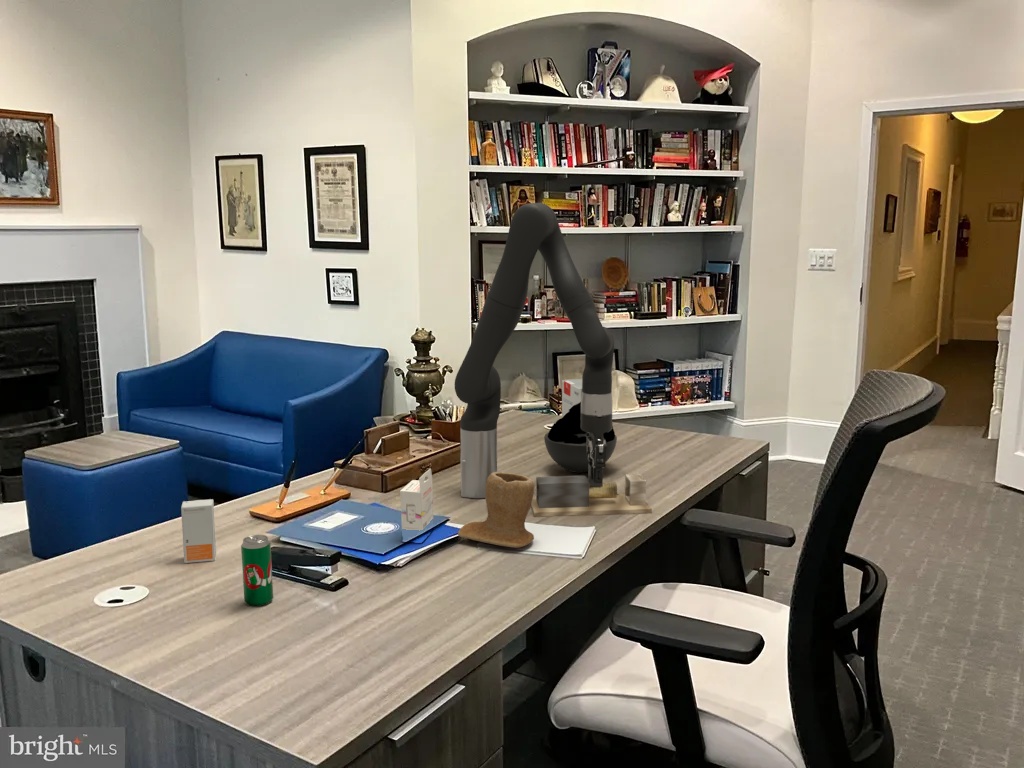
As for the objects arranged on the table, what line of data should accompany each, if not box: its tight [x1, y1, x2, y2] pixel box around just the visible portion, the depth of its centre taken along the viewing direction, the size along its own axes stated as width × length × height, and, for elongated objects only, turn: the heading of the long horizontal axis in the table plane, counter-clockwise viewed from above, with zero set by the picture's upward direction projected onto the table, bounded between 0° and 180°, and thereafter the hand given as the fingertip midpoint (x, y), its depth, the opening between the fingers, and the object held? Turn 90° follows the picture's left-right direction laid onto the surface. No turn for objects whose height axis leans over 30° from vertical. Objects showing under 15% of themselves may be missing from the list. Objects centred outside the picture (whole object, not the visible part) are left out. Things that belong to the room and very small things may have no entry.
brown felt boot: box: [457, 471, 535, 548], centre depth 185 cm, size 15×12×15 cm
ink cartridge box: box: [399, 467, 434, 531], centre depth 187 cm, size 9×5×15 cm, turn 168°
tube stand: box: [530, 473, 652, 518], centre depth 208 cm, size 28×12×7 cm, turn 95°
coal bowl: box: [544, 402, 618, 474], centre depth 238 cm, size 20×20×19 cm
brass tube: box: [587, 463, 618, 499], centre depth 208 cm, size 17×4×8 cm, turn 95°
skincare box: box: [180, 498, 217, 564], centre depth 175 cm, size 6×4×12 cm
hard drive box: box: [561, 378, 582, 418], centre depth 266 cm, size 16×8×20 cm, turn 17°
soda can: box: [240, 534, 274, 607], centre depth 155 cm, size 5×5×12 cm
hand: (595, 479), depth 208 cm, fingers open, 5 cm apart
